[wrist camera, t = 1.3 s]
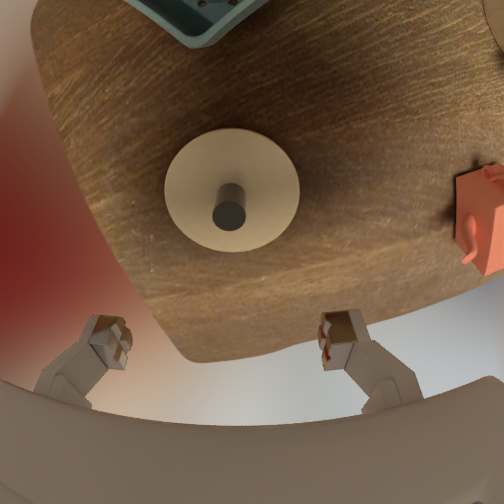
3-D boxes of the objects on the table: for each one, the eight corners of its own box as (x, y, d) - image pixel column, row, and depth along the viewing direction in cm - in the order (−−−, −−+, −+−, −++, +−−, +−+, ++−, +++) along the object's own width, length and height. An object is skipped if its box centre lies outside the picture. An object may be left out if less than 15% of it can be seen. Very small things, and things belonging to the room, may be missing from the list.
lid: (152, 219, 25) (137, 248, 21) (195, 105, 19) (182, 113, 16) (261, 260, 28) (263, 293, 24) (321, 162, 22) (337, 183, 18)
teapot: (507, 223, 26) (544, 261, 19) (426, 260, 29) (459, 311, 22) (513, 141, 19) (562, 171, 12) (421, 168, 22) (474, 211, 15)
